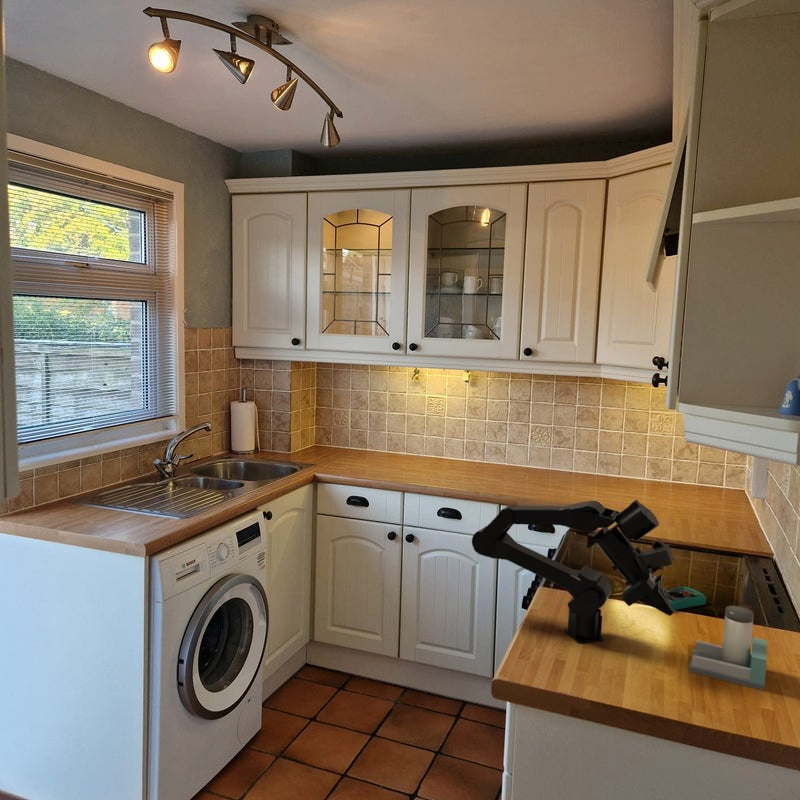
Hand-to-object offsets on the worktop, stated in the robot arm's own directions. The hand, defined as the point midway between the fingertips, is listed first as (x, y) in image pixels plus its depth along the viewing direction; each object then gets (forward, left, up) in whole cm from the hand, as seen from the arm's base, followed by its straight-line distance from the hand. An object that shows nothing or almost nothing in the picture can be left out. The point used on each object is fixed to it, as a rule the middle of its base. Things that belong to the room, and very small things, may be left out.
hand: (671, 614), depth 140 cm
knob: (+9, -9, -8) cm, 15 cm away
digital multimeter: (+21, +24, -10) cm, 34 cm away
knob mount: (+8, -8, -9) cm, 14 cm away
